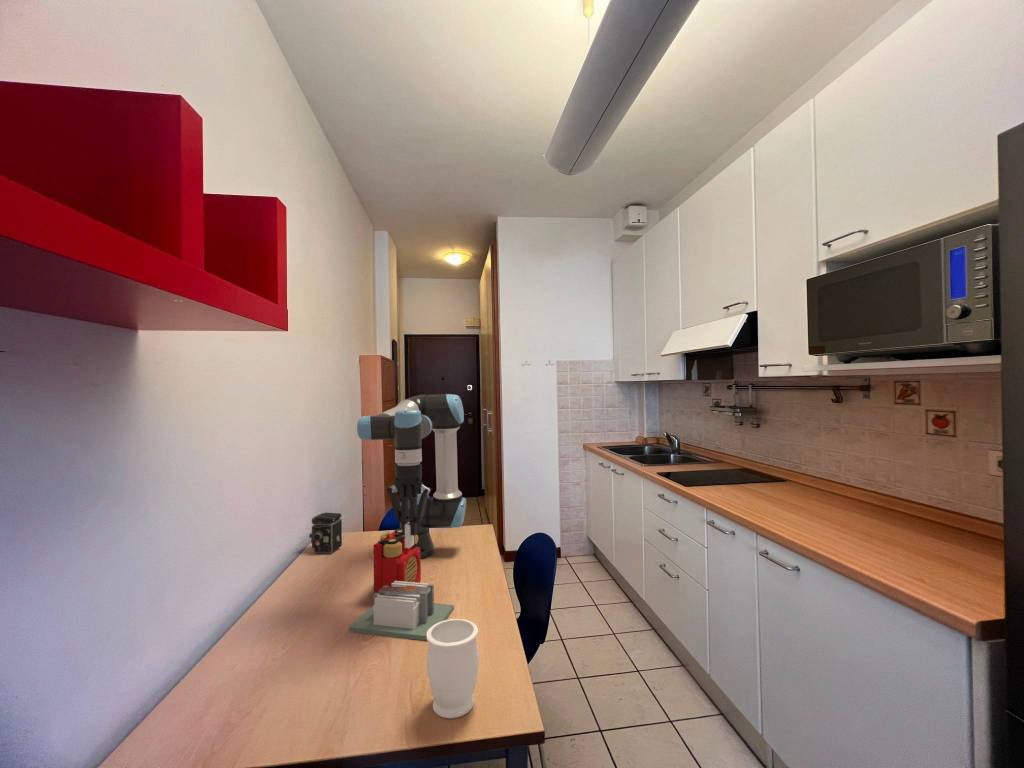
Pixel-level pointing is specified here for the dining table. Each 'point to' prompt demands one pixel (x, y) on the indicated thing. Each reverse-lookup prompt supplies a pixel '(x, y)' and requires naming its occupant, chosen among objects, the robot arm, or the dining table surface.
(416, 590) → the strap
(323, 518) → the camera
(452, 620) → the jar
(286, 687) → the dining table surface
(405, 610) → the heatsink
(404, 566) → the radio
